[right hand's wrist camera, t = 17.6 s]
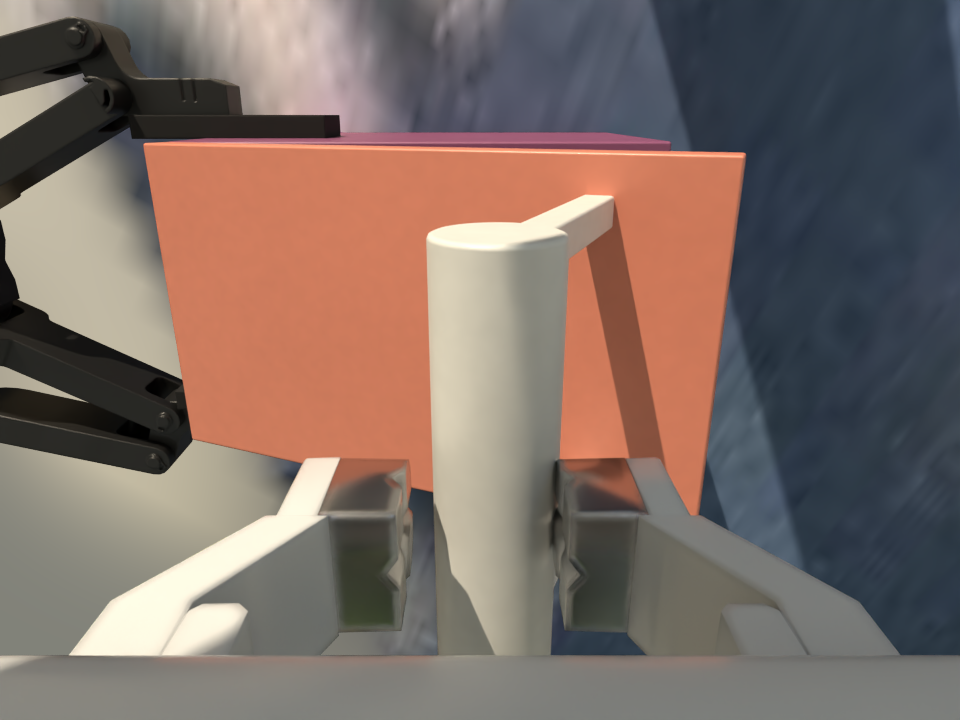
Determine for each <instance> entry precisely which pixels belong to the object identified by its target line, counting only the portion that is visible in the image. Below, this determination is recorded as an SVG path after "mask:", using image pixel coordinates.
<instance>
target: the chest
mask: <svg viewBox="0 0 960 720" xmlns="http://www.w3.org/2000/svg"><path fill="white" fill-rule="evenodd" d="M340 134H341V136H337V137H331V138H205V139H194V140H182V141H171V142H195V143H249V144H303V145H357V146H411V147H465V148H519V149H572V150H626V151H671V142H669V141H662V140H655V139H648V138H640V137H633V136H626V135H619V134H611V133H340Z"/></svg>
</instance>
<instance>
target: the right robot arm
mask: <svg viewBox="0 0 960 720" xmlns="http://www.w3.org/2000/svg"><path fill="white" fill-rule="evenodd" d="M411 487H412V485H411V469H410V462H409V459H376V458H341V457H325V458H307V459H306V460H305V461H304V462H303V464H302V466H301V468H300V470H299V472H298V474H297V476H296V478H295V480H294V481H293V483H292V485H291V487H290V489H289V491H288V493H287V495H286V497H285V499H284V501H283V503H282V505H281V507H280V509H279V511H278V512H277V514H276V515H266V516H264V517H262V518H260V519H258V520H257V521H255V522H253V523H251V524H249V525H247V526H246V527H244V528H242V529H240V530H238V531H237V532H235V533H233V534H231V535H229V536H227V537H226V538H224V539H222V540H220V541H218V542H217V543H215V544H213V545H211V546H209V547H207V548H206V549H204V550H202V551H200V552H198V553H197V554H195V555H193V556H191V557H189V558H187V559H186V560H184V561H182V562H180V563H178V564H176V565H175V566H173V567H171V568H169V569H167V570H166V571H164V572H162V573H160V574H158V575H156V576H155V577H153V578H151V579H149V580H147V581H145V582H144V583H142V584H140V585H138V586H136V587H135V588H133V589H131V590H129V591H127V592H125V593H124V594H122V595H120V596H118V597H116V598H115V599H113V600H111V601H110V602H109V603H108V605H107V606H106V607H105V609H104V610H103V611H102V612H101V614H100V615H99V616H98V618H97V619H96V620H95V622H94V623H93V624H92V626H91V627H90V628H89V630H88V631H87V632H86V633H85V635H84V636H83V637H82V639H81V640H80V641H79V642H78V644H77V645H76V646H75V648H74V649H73V650H72V652H71V653H70V654H69V655H0V720H960V655H900V654H899V653H898V651H897V650H896V649H895V647H894V646H893V645H892V644H891V642H890V641H889V640H888V638H887V637H886V636H885V635H884V633H883V632H882V631H881V629H880V628H879V627H878V626H877V624H876V623H875V622H874V620H873V619H872V618H871V617H870V615H869V614H868V613H867V611H866V610H865V609H864V608H863V606H862V605H861V604H860V602H859V601H857V600H855V599H853V598H851V597H849V596H848V595H846V594H844V593H842V592H840V591H838V590H837V589H835V588H833V587H831V586H829V585H827V584H826V583H824V582H822V581H820V580H818V579H816V578H815V577H813V576H811V575H809V574H807V573H805V572H804V571H802V570H800V569H798V568H796V567H794V566H793V565H791V564H789V563H787V562H785V561H783V560H782V559H780V558H778V557H776V556H774V555H772V554H771V553H769V552H767V551H765V550H763V549H761V548H760V547H758V546H756V545H754V544H752V543H750V542H749V541H747V540H745V539H743V538H741V537H739V536H738V535H736V534H734V533H732V532H730V531H728V530H727V529H725V528H723V527H721V526H719V525H717V524H716V523H714V522H712V521H710V520H708V519H706V518H705V517H703V516H701V515H690V513H689V512H688V510H687V508H686V506H685V504H684V502H683V500H682V499H681V497H680V495H679V493H678V491H677V489H676V488H675V486H674V484H673V482H672V480H671V478H670V476H669V475H668V473H667V471H666V469H665V467H664V465H663V464H662V462H661V460H660V459H659V458H657V457H644V458H588V459H558V460H556V472H555V496H556V501H557V506H558V507H557V508H556V511H555V514H554V517H553V541H552V551H553V561H554V569H555V575H556V576H557V577H558V578H559V579H560V586H559V600H560V605H561V611H562V616H563V622H564V628H565V631H593V632H628V634H627V635H628V636H629V637H630V638H631V639H632V640H633V641H634V642H635V644H636V645H637V646H638V647H639V648H640V649H641V650H642V651H643V652H644V653H645V654H646V655H321V653H322V652H323V651H324V650H325V649H326V648H327V647H328V646H329V645H330V644H331V643H332V642H333V641H334V640H335V639H336V638H337V637H338V636H339V634H338V632H372V631H401V629H402V623H403V616H404V610H405V604H406V598H407V593H406V579H407V578H408V577H409V576H410V571H411V564H412V551H413V512H412V511H411V510H410V509H409V508H408V504H409V498H410V492H411Z"/></svg>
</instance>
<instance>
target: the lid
mask: <svg viewBox="0 0 960 720" xmlns="http://www.w3.org/2000/svg"><path fill="white" fill-rule="evenodd" d="M144 152H145V158H146V164H147V170H148V176H149V182H150V188H151V194H152V200H153V206H154V212H155V218H156V224H157V230H158V236H159V242H160V248H161V254H162V260H163V266H164V271H165V277H166V283H167V289H168V295H169V301H170V307H171V313H172V319H173V325H174V331H175V337H176V343H177V349H178V355H179V361H180V367H181V373H182V379H183V385H184V391H185V397H186V403H187V409H188V415H189V421H190V427H191V433H192V438H193V439H194V440H198V441H203V442H207V443H212V444H216V445H221V446H225V447H230V448H234V449H239V450H243V451H248V452H252V453H257V454H261V455H266V456H270V457H275V458H279V459H284V460H288V461H293V462H297V463H302V464H303V462H304V461H305V460H306V459H307V458H325V457H341V458H376V459H409V462H410V469H411V485H412V487H411V488H415V489H420V490H424V491H429V492H433V498H434V533H435V569H436V604H437V640H438V655H551V635H552V614H553V592H554V586H555V584H556V582H557V580H558V577H557V576H556V575H555V569H554V561H553V551H552V541H553V517H554V514H555V511H556V508H557V507H558V506H557V501H556V496H555V472H556V460H558V459H588V458H644V457H657V458H659V459H660V460H661V462H662V464H663V465H664V467H665V469H666V471H667V473H668V475H669V476H670V478H671V480H672V482H673V484H674V486H675V488H676V489H677V491H678V493H679V495H680V497H681V499H682V500H683V502H684V504H685V506H686V508H687V510H688V512H689V513H690V515H699V510H700V503H701V495H702V488H703V480H704V473H705V465H706V457H707V450H708V442H709V435H710V427H711V420H712V412H713V405H714V397H715V389H716V382H717V374H718V367H719V359H720V352H721V344H722V336H723V329H724V321H725V314H726V306H727V299H728V291H729V284H730V276H731V268H732V261H733V253H734V246H735V238H736V231H737V223H738V215H739V208H740V200H741V193H742V185H743V178H744V170H745V163H746V154H745V153H734V152H680V151H626V150H572V149H519V148H465V147H411V146H357V145H303V144H249V143H195V142H160V143H145V144H144Z"/></svg>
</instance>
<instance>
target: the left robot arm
mask: <svg viewBox="0 0 960 720" xmlns="http://www.w3.org/2000/svg"><path fill="white" fill-rule="evenodd" d="M130 49H131V46H130V41H129V39H128V37H127V35H126V34H125V33H124V32H123V31H122V30H121V29H119V28H117V27H114V26H110V25H106V24H102V23H98V22H94V21H90V20H86V19H82V18H78V17H66V18H63V19H59V20H56V21H52V22H49V23H45V24H42V25H38V26H35V27H31V28H27V29H24V30H20V31H17V32H13V33H10V34H6V35H3V36H0V96H2V95H6V94H9V93H13V92H17V91H20V90H24V89H27V88H31V87H35V86H38V85H42V84H45V83H49V82H52V81H56V80H60V79H63V78H67V77H70V76H74V75H78V74H81V73H83V74H84V76H85V78H83V80H84V81H85V82H88V84H87V85H86V86H84V87H82V88H81V89H79V90H78V91H76V92H74V93H73V94H71V95H70V96H68V97H66V98H65V99H63V100H62V101H60V102H58V103H57V104H55V105H54V106H52V107H50V108H49V109H47V110H46V111H44V112H42V113H41V114H39V115H38V116H36V117H34V118H33V119H31V120H30V121H28V122H26V123H25V124H23V125H22V126H20V127H18V128H17V129H15V130H14V131H12V132H11V133H9V134H7V135H6V136H4V137H3V138H1V139H0V209H1V208H3V207H4V206H6V205H8V204H9V203H11V202H12V201H14V200H16V199H17V198H19V197H20V196H21V193H22V192H23V191H25V190H26V189H28V188H30V187H31V186H33V185H35V184H36V183H38V182H40V181H41V180H43V179H45V178H46V177H48V176H50V175H51V174H53V173H55V172H56V171H58V170H59V169H61V168H63V167H64V166H66V165H68V164H69V163H71V162H73V161H74V160H76V159H78V158H79V157H81V156H83V155H84V154H86V153H87V152H89V151H91V150H92V149H94V148H96V147H97V146H99V145H101V144H102V143H104V142H106V141H107V140H109V139H111V138H112V137H114V136H116V135H117V134H119V133H120V132H122V131H124V130H125V129H127V128H129V127H130V130H131V136H132V139H205V138H331V137H337V136H341V134H340V119H339V115H243V114H242V106H241V97H240V88H239V86H237V85H234V84H232V83H230V82H227V81H225V80H218V79H211V78H148V77H147V76H145V75H144V74H142V73H141V72H140V70H139V69H138V68H137V66H136V65H135V63H134V61H133V59H132V57H131V55H130ZM17 299H19V294H18V289H17V285H16V281H15V278H14V277H13V275H12V273H11V271H10V269H9V267H8V265H7V263H6V261H5V236H4V232H3V228H2V224H1V220H0V366H4V367H7V368H10V369H12V370H14V371H17V372H19V373H21V374H24V375H26V376H28V377H31V378H33V379H35V380H38V381H40V382H42V383H45V384H47V385H49V386H51V387H54V388H56V389H58V390H61V391H63V392H66V393H68V394H70V395H72V396H75V397H77V398H79V399H82V400H84V401H86V402H83V401H78V400H73V399H69V398H64V397H59V396H54V395H50V394H45V393H40V392H36V391H31V390H26V389H19V388H0V443H4V444H9V445H14V446H19V447H23V448H28V449H33V450H38V451H43V452H48V453H53V454H58V455H63V456H68V457H73V458H78V459H82V460H87V461H92V462H97V463H102V464H107V465H111V466H116V467H122V468H126V469H131V470H136V471H141V472H146V473H151V474H162V473H165V472H166V471H167V470H168V469H169V468H170V467H171V466H172V464H173V463H174V462H175V461H176V460H177V459H178V457H179V456H180V455H181V454H182V453H183V452H184V450H185V449H186V448H187V447H188V446H189V445H190V443H191V442H192V440H193V438H192V433H191V427H190V421H189V415H188V409H187V403H186V397H185V391H184V385H183V380H182V379H179V378H177V377H175V376H173V375H170V374H168V373H166V372H164V371H161V370H159V369H157V368H155V367H152V366H150V365H148V364H146V363H143V362H141V361H139V360H137V359H134V358H132V357H130V356H128V355H125V354H123V353H121V352H119V351H116V350H114V349H112V348H110V347H107V346H105V345H103V344H101V343H99V342H96V341H94V340H92V339H90V338H87V337H85V336H83V335H81V334H78V333H76V332H74V331H72V330H69V329H67V328H65V327H63V326H60V325H58V324H56V323H54V322H52V321H50V320H49V316H48V314H47V313H45V312H44V311H42V310H40V309H37V308H35V307H33V306H31V305H28V304H26V303H24V302H22V301H20V300H17ZM87 402H89V403H87Z"/></svg>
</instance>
